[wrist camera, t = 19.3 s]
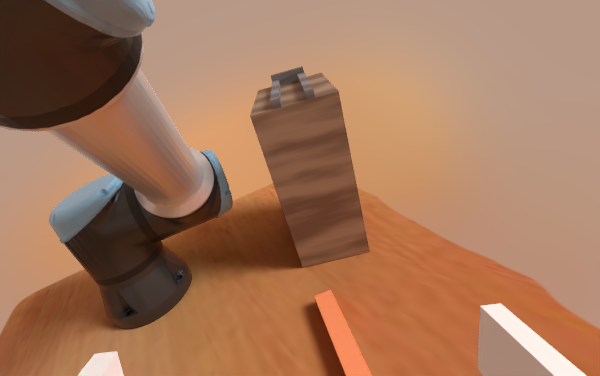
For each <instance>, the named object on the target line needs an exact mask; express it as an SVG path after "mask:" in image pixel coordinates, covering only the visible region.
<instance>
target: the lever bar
mask: <svg viewBox="0 0 600 376" xmlns="http://www.w3.org/2000/svg"><path fill="white" fill-rule="evenodd" d="M314 297H315V300H316V303H317V306H318V308H319V311H320V313H321V316H322V318H323V321H324V323H325V326H326V328H327V331H328V333H329V336H330V338H331V341H332V343H333V346H334V348H335V351H336V353H337V356H338V358H339V361H340V363H341V366H342V368H343V371H344V373H345V376H372V375H371V373H370V371H369V369H368V366H367V364H366V362H365V360H364V358H363V356H362V354H361V352H360V350H359V348H358V346H357V344H356V341H355V339H354V337H353V335H352V333H351V331H350V329H349V327H348V325H347V323H346V321H345V319H344V316H343V314H342V312H341V310H340V308H339V306H338V304H337V302H336V300H335V298H334V296H333V294H332V291H331V290H329V291H326V292H324V293H321V294H319V295H316V296H314Z"/></svg>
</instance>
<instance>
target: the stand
mask: <svg viewBox="0 0 600 376" xmlns="http://www.w3.org/2000/svg"><path fill="white" fill-rule="evenodd" d="M271 78H272V87H270V88H266V89H263V90H259V91H258V93H257V96H256V99H255V103H254V106H253V109H252V112H251V115H250V117H251V119H252V122H253V125H254V128H255V131H256V134H257V137H258V140H259V143H260V146H261V149H262V151H263V154H264V157H265V160H266V163H267V166H268V168H269V171H270V174H271V177H272V180H273V183H274V186H275V189H276V192H277V195H278V198H279V201H280V204H281V206H282V209H283V212H284V215H285V218H286V221H287V224H288V227H289V230H290V232H291V235H292V238H293V241H294V244H295V247H296V250H297V253H298V256H299V259H300V261H301V264H302V267H303V268H305V267H309V266H313V265H317V264H321V263H325V262H329V261H333V260H337V259H342V258H346V257H350V256H354V255H358V254H362V253H366V252H369V247H368V242H367V237H366V231H365V226H364V221H363V216H362V211H361V206H360V200H359V195H358V190H357V185H356V180H355V175H354V170H353V164H352V159H351V154H350V149H349V143H348V139H347V133H346V128H345V123H344V118H343V113H342V107H341V102H340V97H339V92H338V90H337V89H336V88H335V87H334V86H333V85H332V84H331V83H330V82H329V81H328V80H327V79H326V78H325V77H324V75H323V74H322V73H319V74H315V75H312V76H309V77H306V75H305V73H304V71H303V67H299V68H295V69H292V70H288V71H285V72H281V73H278V74H274V75H271Z"/></svg>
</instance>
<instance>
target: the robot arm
mask: <svg viewBox="0 0 600 376" xmlns="http://www.w3.org/2000/svg"><path fill="white" fill-rule="evenodd" d="M155 15H156V13H155V9H154V4H153V2H152V0H0V127H2V128H6V129H10V130H20V131H47V132H48V133H50V134H51V135H53V136H54V137H56V138H57V139H59V140H61V141H62V142H63V143H65V144H66V145H68V146H69V147H71V148H73V149H74V150H76V151H77V152H79V153H80V154H82V155H83V156H85V157H86V158H88V159H89V160H91V161H92V162H94V163H95V164H97V165H98V166H100V167H102V168H103V169H105V170H106V171H108V172H109V173H111V174H110V175H105V176H102V177H101V178H98V179H96V180H94V181H92V182H90V183H88V184H86V185H85V186H83V187H81V188H80V189H78V190H76V191H75V192H73V193H72V194H70V195H69V196H68V197H66V198H65V199H64V200H62V201H61V202H60V203H59V204H58V205H57V206H56V207H55V208H54V209H53V210H52V212H51V214H50V217H49V222H50V225H51V226H52V228H53V229H54V231H55V232H56V234H57V235H58V237H59V238H60V241H61V243H64V244H65V246H66V247H67V248H68V249H69V250H70V252H71V253H72V254H73V255H74V256H75V257H76V259H77V260H78V261H79V262H80V263H81V265H82V266H83V267H84V268H85V269H86V271H87V272H88V273H89V274H90V275H91V277H92V278H93V279H94V280H95V281H96V283H97V284H98V285H99V287H100V291H101V295H102V299H103V302H104V306H105V310H106V313H107V315H108V317H109V318H110V319H111V320H112V322H113V323H114V324H115V325H116V326H118V327H120V328H125V329H130V328H136V327H140V326H143V325H146V324H148V323H150V322H152V321H154V320H156V319H158V318H159V317H161V316H162V315H164V314H165V313H167V312H168V311H169V310H170V309H172V308H173V307H174V306H175V305H176V304H177V303H178V302H179V301H180V300H181V298H182V297H183V296H184V295H185V293H186V291H187V290H188V288H189V286H190V283H191V279H192V274H191V271H190V269H189V267H188V265H187V264H186V262H185V261H184V260H183V259H182V258H180V257H179V256H178V255H176V254H175V253H174V252H172V251H171V250H170V249H168V248H167V247H165V246H164V245H163V243H162V242H161V240H163V239H165V238H168V237H170V236H172V235H175V234H177V233H180V232H182V231H184V230H187V229H189V228H192V227H194V226H196V225H199V224H201V223H204V222H206V221H208V220H211V219H213V218H218V217H219V216H221V215H222V214H224V213H226V212H228V211H229V210H230V209H231V207H232V204H233V201H232V196H231V192H230V190H229V185H228V182H227V179H226V177H225V174H224V172H223V169H222V167H221V164H220V162H219V160H218V158H217V157H216V155H215V154H214V153H213V152H212V151H210V150H206V151H197V150H196V149H193V148H191V147H188V146H187V144H186V143H185V141H184V139H183V138H182V136H181V134H180V133H179V131H178V130H177V128H176V126H175V125H174V123H173V121H172V120H171V118H170V117H169V115H168V113H167V112H166V110H165V108H164V107H163V105H162V103H161V102H160V100H159V98H158V97H157V95H156V94H155V92H154V90H153V89H152V87H151V86H150V84H149V82H148V81H147V79H146V77H145V76H144V74H143V72H142V71H141V69H140V66H141V63H142V58H143V51H144V42H143V35H142V31H143V30H144V29H145V28H146V27H149V26H151V25H152V24H153V22H154V20H155ZM478 370H479V371H480V372H481V374H482V375H483V376H586V375H585V374H584V373H583V372H581V371H580V370H579V369H578V368H577V367H575V366H574V365H573V364H572V363H571V362H569V361H568V360H567V359H566V358H565V357H564V356H562V355H561V354H560V353H559V352H558V351H556V350H555V349H554V348H553V347H552V346H550V345H549V344H548V343H547V342H546V341H545V340H543V339H542V338H541V337H540V336H539V335H537V334H536V333H535V332H534V331H533V330H532V329H530V328H529V327H528V326H527V325H526V324H524V323H523V322H522V321H521V320H520V319H518V318H517V317H516V316H515V315H514V314H513V313H511V312H510V311H509V310H508V309H507V308H505V307H504V306H503V305H502V304H501V303H500V304H492V305H484V306H480V322H479V347H478ZM77 376H124V375H123V371H122V368H121V364H120V360H119V357H118V353H117V351H115V352H107V353H99V354H94V356H93V357H92V358H91V359H90V361H89V362H88V363H87V364H86V366H85V367H84V368H83V369H82V371H81V372H80V373H79V374H78V375H77Z"/></svg>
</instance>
